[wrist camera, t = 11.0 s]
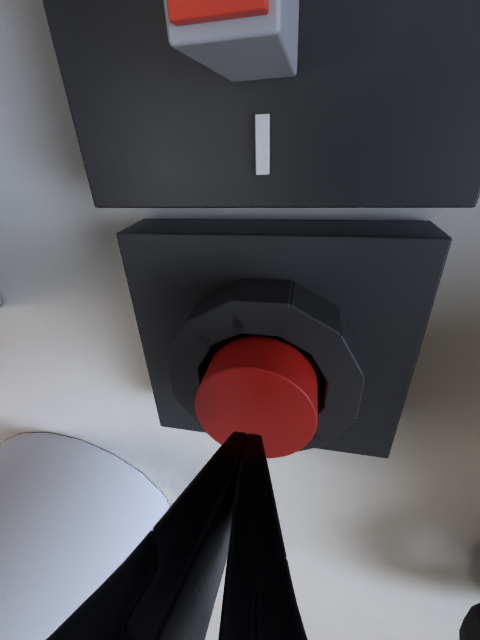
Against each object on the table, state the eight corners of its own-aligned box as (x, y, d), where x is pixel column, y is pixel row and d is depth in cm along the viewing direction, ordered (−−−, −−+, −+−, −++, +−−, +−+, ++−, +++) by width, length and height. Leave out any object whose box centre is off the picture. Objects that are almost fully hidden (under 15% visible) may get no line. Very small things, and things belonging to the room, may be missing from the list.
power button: (204, 331, 11) (187, 362, 10) (322, 340, 10) (323, 375, 9) (213, 414, 13) (200, 449, 12) (313, 427, 12) (312, 466, 11)
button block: (142, 218, 13) (84, 248, 10) (431, 220, 11) (479, 258, 8) (176, 396, 18) (144, 456, 15) (380, 421, 16) (397, 497, 13)
